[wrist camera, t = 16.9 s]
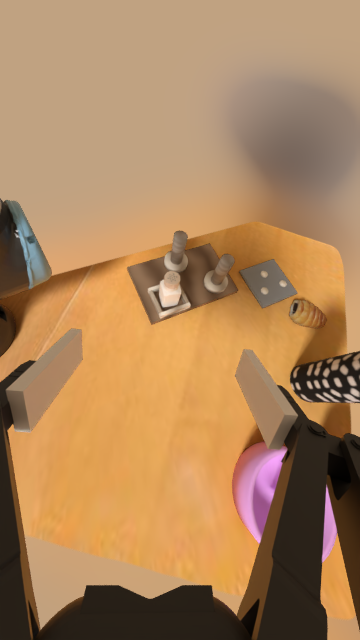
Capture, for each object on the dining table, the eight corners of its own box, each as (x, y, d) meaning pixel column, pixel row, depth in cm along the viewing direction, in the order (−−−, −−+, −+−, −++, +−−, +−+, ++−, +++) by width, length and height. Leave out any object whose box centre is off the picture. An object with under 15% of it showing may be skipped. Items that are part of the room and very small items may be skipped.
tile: (262, 308, 52) (264, 307, 51) (239, 271, 55) (240, 270, 55) (296, 294, 55) (298, 292, 55) (272, 260, 59) (274, 258, 58)
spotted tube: (284, 368, 47) (371, 348, 28) (313, 361, 49) (413, 338, 30) (299, 406, 44) (405, 410, 26) (329, 397, 46) (450, 396, 27)
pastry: (322, 313, 55) (334, 308, 51) (319, 335, 52) (332, 331, 48) (290, 300, 55) (300, 293, 51) (286, 321, 52) (296, 315, 49)
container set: (255, 561, 34) (314, 653, 21) (219, 461, 38) (251, 489, 26) (360, 490, 40) (453, 530, 28) (318, 411, 44) (382, 416, 32)
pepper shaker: (174, 291, 49) (179, 267, 40) (178, 305, 48) (184, 284, 39) (158, 294, 48) (160, 270, 39) (162, 308, 47) (164, 287, 38)
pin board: (151, 324, 46) (152, 304, 36) (127, 270, 51) (122, 238, 41) (236, 292, 53) (256, 267, 43) (208, 246, 57) (220, 214, 48)
